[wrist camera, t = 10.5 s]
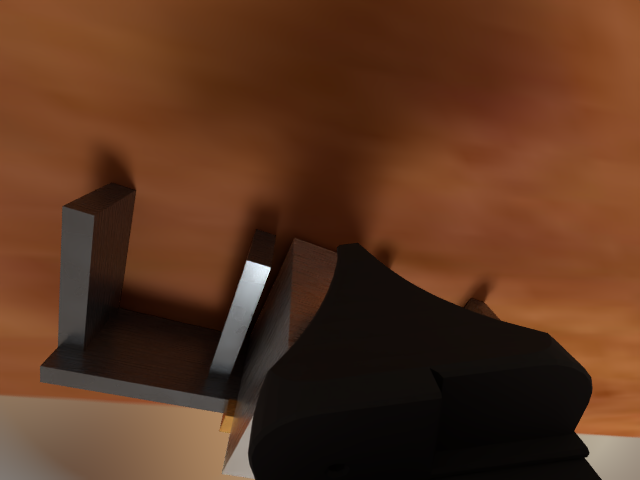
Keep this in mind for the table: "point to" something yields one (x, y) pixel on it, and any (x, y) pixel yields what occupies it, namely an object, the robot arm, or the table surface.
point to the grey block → (277, 336)
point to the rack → (147, 319)
